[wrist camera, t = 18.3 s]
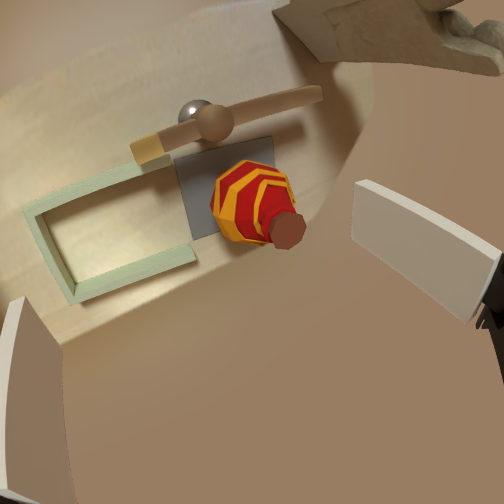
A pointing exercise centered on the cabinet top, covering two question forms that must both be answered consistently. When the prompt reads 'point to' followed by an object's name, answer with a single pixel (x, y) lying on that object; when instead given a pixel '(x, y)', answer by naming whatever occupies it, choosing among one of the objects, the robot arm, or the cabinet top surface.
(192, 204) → the mat
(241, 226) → the potion bottle
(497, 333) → the robot arm
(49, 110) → the cabinet top surface
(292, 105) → the turn bar
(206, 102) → the metal pivot base
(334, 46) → the sculpture
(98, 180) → the channel
